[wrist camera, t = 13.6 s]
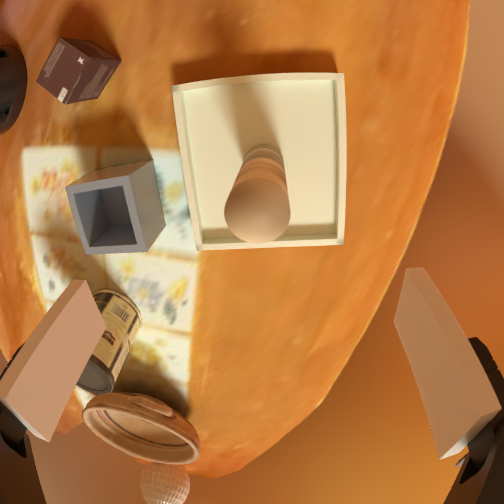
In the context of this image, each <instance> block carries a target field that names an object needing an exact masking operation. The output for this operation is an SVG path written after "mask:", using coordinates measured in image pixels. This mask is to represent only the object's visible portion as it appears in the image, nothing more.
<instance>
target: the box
mask: <svg viewBox="0 0 504 504" xmlns="http://www.w3.org/2000/svg"><path fill="white" fill-rule="evenodd" d="M120 63H121V60H120V59H118V58H117V57H115V56H114V55H113V54H111V53H109V52H108V51H106V50H105V49H103V48H102V47H100V46H99V45H97V44H96V43H94V42H92V41H85V40H77V39H69V38H59V39H58V41H57V43H56V44H55V46H54V48H53V50H52V51H51V53H50V55H49V57H48V59H47V61H46V62H45V64H44V66H43V68H42V70H41V72H40V74H39V76H38V78H37V80H36V82H37V83H38V84H40V85H41V86H42V87H43V88H45V89H46V90H47V91H49V92H50V93H51V94H52V95H54V96H55V97H56V98H57V99H58V100H60V101H61V102H62V103H64V104H65V105H66V104H70V103H75V102H80V101H86V100H92V99H97V98H98V97H99V95H100V94H101V92H102V90H103V89H104V87H105V86H106V84H107V82H108V81H109V79H110V78H111V76H112V75H113V73H114V72H115V70H116V68H117V67H118V65H119V64H120Z"/></svg>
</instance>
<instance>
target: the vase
mask: <svg viewBox="0 0 504 504" xmlns="http://www.w3.org/2000/svg"><path fill="white" fill-rule="evenodd" d="M189 488H190V480H189V476H188V473H187V471H186V469H185V467H184V465H183V464H165V463H159V462H154V461H152V462H151V463H150V464H149V465H148V466H147V467H146V469H145V470H144V472H143V474H142V477H141V491H142V494H143V497H144V499H145V500H146V501H147V503H148V504H182V503H183V502H184V501H185V500H186V498H187V496H188V493H189Z"/></svg>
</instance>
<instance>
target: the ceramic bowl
mask: <svg viewBox="0 0 504 504" xmlns="http://www.w3.org/2000/svg"><path fill="white" fill-rule="evenodd" d="M82 417H83V420H84V422H85V423H86V425H87V426H88V427H89V428H90V429H91V430H92V431H93V432H94V433H95V434H96V435H97V436H99V437H100V438H101V439H103V440H104V441H106V442H107V443H109V444H110V445H112V446H114V447H116V448H118V449H120V450H122V451H124V452H125V453H127V454H129V455H130V456H134V457H139V458H142V459H146V460H150V461H154V462H159V463H165V464H188V463H191V462H194V461H196V460H197V459H198V458H199V456H200V451H199V450H200V440H199V437H198V434H197V432H196V430H195V429H194V427H193V426H192V424H191V423H190V422H189V421H188V420H187V419H186V418H184V417H183V416H182V415H181V414H179V413H178V412H176V411H175V410H173V409H172V408H171V407H170V406H169V405H167V404H166V403H164V402H163V401H161V400H159V399H157V398H155V397H152V396H150V395H146V394H141V393H127V392H110V393H109V394H100V395H97V396H95V397H94V398H92V399H91V400H90V401H89V402H88V404H87V405H86V408H85V409H84V410H83V411H82Z"/></svg>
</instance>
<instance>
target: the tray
mask: <svg viewBox="0 0 504 504" xmlns="http://www.w3.org/2000/svg"><path fill="white" fill-rule="evenodd" d="M172 93H173V102H174V110H175V118H176V125H177V133H178V140H179V147H180V154H181V160H182V167H183V173H184V180H185V186H186V192H187V198H188V204H189V210H190V216H191V221H192V227H193V232H194V238H195V243H196V248H197V250H219V249H244V248H268V247H293V246H319V245H343V243H344V227H345V204H346V106H345V85H344V73H275V74H259V75H246V76H236V77H227V78H218V79H211V80H204V81H197V82H191V83H185V84H179V85H174V86H172ZM260 144H267V145H271V146H273V147H275V148H276V149H278V150H279V152H280V153H281V155H282V157H283V160H284V167H285V174H286V181H287V189H288V196H289V204H290V212H291V215H290V221H289V224H288V226H287V228H286V230H285V231H284V232H283V234H282V235H280V236H279V237H278V238H276V239H275V240H273V241H270V242H267V243H262V244H254V243H249V242H246V241H243V240H241V239H239V238H238V237H236V236H235V235H234V234H233V233H232V232H231V231H230V229H229V228H228V226H227V224H226V221H225V217H224V208H225V204H226V201H227V199H228V196H229V194H230V191H231V189H232V187H233V184H234V182H235V180H236V177H237V175H238V173H239V170H240V168H241V166H242V163H243V161H244V159H245V157H246V154H247V153H248V151H249V150H250V149H251V148H253V147H254V146H257V145H260Z"/></svg>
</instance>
